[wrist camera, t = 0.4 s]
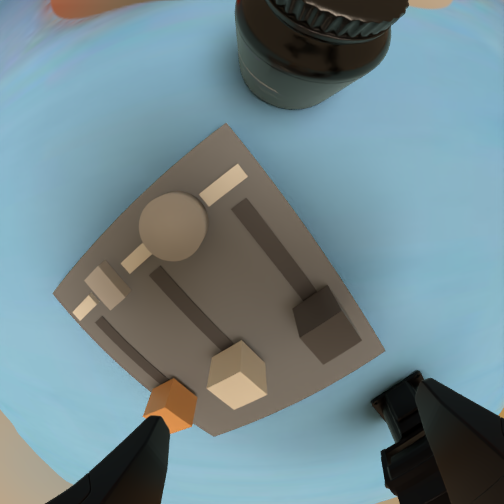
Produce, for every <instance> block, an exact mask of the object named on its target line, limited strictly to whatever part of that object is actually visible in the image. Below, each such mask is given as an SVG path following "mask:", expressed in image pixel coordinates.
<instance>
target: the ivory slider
mask: <svg viewBox="0 0 504 504" xmlns="http://www.w3.org/2000/svg"><path fill="white" fill-rule="evenodd" d="M207 389H208V390H209V391H210V392H211V393H213V394H214V395H215V396H217V397H218V398H219V399H220V400H222V401H223V402H224V403H226V404H227V405H228V406H230V407H231V408H232V409H234V410H235V409H237V408H240V407H242V406H244V405H246V404H249V403H251V402H253V401H255V400H257V399H259V398H262V397H264V396H266V395H267V382H266V367H265V362H264V361H263V360H261V359H260V358H259V357H258V356H257V355H256V354H255V353H254V352H253V351H252V350H251V349H250V348H249V347H248V346H247V345H246V344H245V343H244V342H243V341H242V340H241V341H239V342H238V343H236V344H234V345H233V346H231V347H229V348H227V349H226V350H224V351H222V352H220V353H219V354H217V355H215V356H213V357H212V360H211V365H210V371H209V377H208V383H207Z"/></svg>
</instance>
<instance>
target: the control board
mask: <svg viewBox="0 0 504 504" xmlns="http://www.w3.org/2000/svg"><path fill="white" fill-rule="evenodd" d="M327 285H328V286H329V287H330V289H331V290H332V292H333V293H334V295H335V296H336V298H337V299H338V301H339V302H340V303H341V305H342V306H343V308H344V309H345V311H346V312H347V314H348V316H349V317H350V319H351V321H352V323H353V325H354V326H355V328H356V330H357V332H358V334H359V335H360V337H361V339H362V341H361V342H359V343H358V344H356V345H355V346H353V347H352V348H350V349H349V350H347V351H345V352H344V353H342V354H341V355H339V356H337V357H336V358H334V359H332V360H331V361H329V362H327V363H326V364H324V365H323V364H322V363H321V362H320V361H319V360H318V358H317V357H316V356H315V355H314V354H313V353H312V352H311V350H310V349H309V348H308V347H307V346H306V345H305V344H304V342H303V341H302V340H301V339H300V338H299V334H298V330H297V326H296V322H295V318H294V314H293V310H292V308H294V307H295V306H297V305H299V304H300V303H302V302H303V301H305V300H306V299H308V298H309V297H311V296H312V295H314V294H315V293H317V292H318V291H319V290H321V289H322V288H324V287H325V286H327ZM53 295H54V296H55V297H56V298H57V300H58V301H59V302H60V303H61V304H62V306H63V307H64V308H65V309H66V310H67V311H68V313H69V314H70V315H71V316H72V317H73V318H74V319H75V320H76V322H77V323H78V324H79V325H80V326H81V327H82V328H83V329H84V330H85V331H86V332H87V333H88V335H89V336H90V337H91V338H92V339H93V340H94V341H95V342H96V343H97V344H98V345H99V346H100V347H101V348H102V349H103V350H104V351H105V352H106V353H107V354H108V355H109V356H110V357H112V358H113V359H114V360H115V361H116V362H117V363H118V364H119V365H120V366H121V367H122V368H123V369H125V370H126V371H127V372H128V373H129V374H130V375H131V376H132V377H134V378H135V379H136V380H137V381H138V382H139V383H141V384H142V385H143V386H144V387H145V388H147V389H148V390H149V391H150V392H152V390H153V389H154V388H156V387H157V386H159V385H161V384H163V383H165V382H167V381H169V380H171V379H173V378H174V379H176V380H177V381H178V382H179V383H180V384H182V385H183V386H184V387H185V388H187V389H188V390H189V391H190V392H192V393H193V394H194V395H195V396H197V403H196V408H195V413H194V419H193V423H194V424H195V425H197V426H198V427H200V428H201V429H203V430H204V431H206V432H207V433H209V434H210V435H212V436H217V435H220V434H223V433H226V432H229V431H231V430H234V429H237V428H239V427H242V426H244V425H247V424H249V423H252V422H254V421H257V420H259V419H262V418H264V417H266V416H269V415H271V414H273V413H275V412H278V411H280V410H282V409H284V408H286V407H288V406H290V405H292V404H295V403H297V402H299V401H301V400H303V399H305V398H307V397H309V396H311V395H312V394H314V393H316V392H318V391H320V390H322V389H324V388H326V387H327V386H329V385H331V384H333V383H335V382H336V381H338V380H340V379H342V378H343V377H345V376H347V375H348V374H350V373H352V372H353V371H355V370H357V369H358V368H360V367H361V366H363V365H365V364H366V363H368V362H369V361H371V360H372V359H374V358H375V357H377V356H378V355H380V354H381V353H383V352H384V351H385V349H384V347H383V346H382V344H381V342H380V341H379V339H378V337H377V336H376V334H375V332H374V331H373V329H372V327H371V326H370V324H369V322H368V321H367V319H366V318H365V316H364V314H363V313H362V311H361V309H360V308H359V306H358V305H357V303H356V302H355V300H354V298H353V297H352V295H351V294H350V292H349V291H348V289H347V287H346V286H345V284H344V283H343V281H342V280H341V278H340V277H339V275H338V274H337V272H336V271H335V269H334V268H333V266H332V265H331V263H330V262H329V260H328V259H327V257H326V256H325V254H324V253H323V251H322V250H321V248H320V247H319V245H318V244H317V243H316V241H315V240H314V238H313V237H312V235H311V234H310V232H309V231H308V230H307V228H306V227H305V225H304V224H303V223H302V221H301V220H300V218H299V217H298V216H297V214H296V213H295V211H294V210H293V209H292V207H291V206H290V204H289V203H288V202H287V200H286V199H285V198H284V196H283V195H282V194H281V192H280V191H279V190H278V188H277V187H276V186H275V184H274V183H273V182H272V180H271V179H270V178H269V176H268V175H267V174H266V172H265V171H264V170H263V168H262V167H261V166H260V164H259V163H258V162H257V161H256V159H255V158H254V157H253V155H252V154H251V153H250V152H249V150H248V149H247V148H246V147H245V145H244V144H243V143H242V142H241V140H240V139H239V138H238V137H237V135H236V134H235V133H234V132H233V130H232V129H231V128H230V127H229V126H228V124H227V123H225V124H224V125H223V126H221V127H220V128H219V129H217V130H216V131H215V132H213V133H212V134H211V135H210V136H208V137H207V138H206V139H205V140H203V141H202V142H201V143H200V144H198V145H197V146H196V147H195V148H193V149H192V150H191V151H190V152H189V153H187V154H186V155H185V156H184V157H183V158H181V159H180V160H179V161H178V162H177V163H176V164H174V165H173V166H172V167H171V168H170V169H169V170H168V171H166V172H165V173H164V174H163V175H162V176H161V177H160V178H159V179H158V180H156V181H155V182H154V183H153V184H152V185H151V186H150V187H149V188H148V189H147V190H146V191H145V192H144V193H143V194H141V195H140V196H139V197H138V198H137V199H136V200H135V201H134V202H133V203H132V204H131V205H130V206H129V207H128V208H127V209H126V210H125V211H124V212H123V213H122V214H121V215H120V216H119V217H118V218H117V219H116V220H115V221H114V222H113V223H112V224H111V226H110V227H109V228H108V229H107V230H106V231H105V232H104V233H103V234H102V235H101V236H100V237H99V238H98V239H97V241H96V242H95V243H94V244H93V245H92V246H91V247H90V248H89V250H88V251H87V252H86V253H85V254H84V255H83V256H82V258H81V259H80V260H79V261H78V262H77V263H76V265H75V266H74V267H73V268H72V269H71V271H70V272H69V273H68V274H67V276H66V277H65V278H64V279H63V281H62V282H61V283H60V284H59V286H58V287H57V288H56V290H55V291H54V292H53ZM241 340H242V341H243V342H244V343H245V344H246V345H247V346H248V347H249V348H250V349H251V350H252V351H253V352H254V353H255V354H256V355H257V356H258V357H259V358H260V359H261V360H263V361H264V362H265V367H266V382H267V395H266V396H264V397H262V398H259V399H257V400H255V401H253V402H251V403H249V404H246V405H244V406H242V407H240V408H237V409H235V410H234V409H232V408H231V407H230V406H228V405H227V404H226V403H224V402H223V401H222V400H220V399H219V398H218V397H217V396H215V395H214V394H213V393H211V392H210V391H209V390H208V389H207V383H208V377H209V371H210V365H211V360H212V357H213V356H215V355H217V354H219V353H220V352H222V351H224V350H226V349H227V348H229V347H231V346H233V345H234V344H236V343H238V342H239V341H241Z"/></svg>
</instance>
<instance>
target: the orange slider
mask: <svg viewBox="0 0 504 504" xmlns="http://www.w3.org/2000/svg"><path fill="white" fill-rule="evenodd" d="M196 403H197V396H195V395H194V394H193V393H192V392H190V391H189V390H188V389H187V388H185V387H184V386H183V385H182V384H180V383H179V382H178V381H177V380H176V379H174V378H173V379H171V380H169V381H167V382H165V383H163V384H161V385H159V386H157V387H156V388H154V389H153V390H152V392H151V395H150V398H149V401H148V403H147V406H146V409H145V412H144V415H143V417H144V418H148V417H149V416H150V415H156V416H161V417H162V418H163V419H164V421H165V423H166V425H167V426H168V428H169V430H170V434H171V433H174V432H177V431H180V430H183V429H186V428H189V427H192V424H193V419H194V413H195V408H196Z"/></svg>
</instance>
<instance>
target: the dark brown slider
mask: <svg viewBox="0 0 504 504" xmlns="http://www.w3.org/2000/svg"><path fill="white" fill-rule="evenodd" d="M292 310H293V314H294V318H295V322H296V326H297V330H298V334H299V338H300V339H301V340H302V341H303V342H304V344H305V345H306V346H307V347H308V348H309V349H310V350H311V352H312V353H313V354H314V355H315V356H316V357H317V358H318V360H319V361H320V362H321V363H322V364H323V365H324V364H326V363H327V362H329V361H331V360H332V359H334V358H336V357H337V356H339V355H341V354H342V353H344V352H345V351H347V350H349V349H350V348H352V347H353V346H355V345H356V344H358V343H359V342H361V341H362V339H361V337H360V335H359V334H358V332H357V330H356V328H355V326H354V325H353V323H352V321H351V319H350V317H349V316H348V314H347V312H346V311H345V309H344V308H343V306H342V305H341V303H340V302H339V301H338V299H337V298H336V296H335V295H334V293H333V292H332V290H331V289H330V287H329V286H328V285H327V286H325V287H324V288H322V289H321V290H319V291H318V292H317V293H315V294H314V295H312V296H311V297H309V298H308V299H306V300H305V301H303V302H302V303H300V304H299V305H297V306H295V307H294V308H292Z"/></svg>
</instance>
